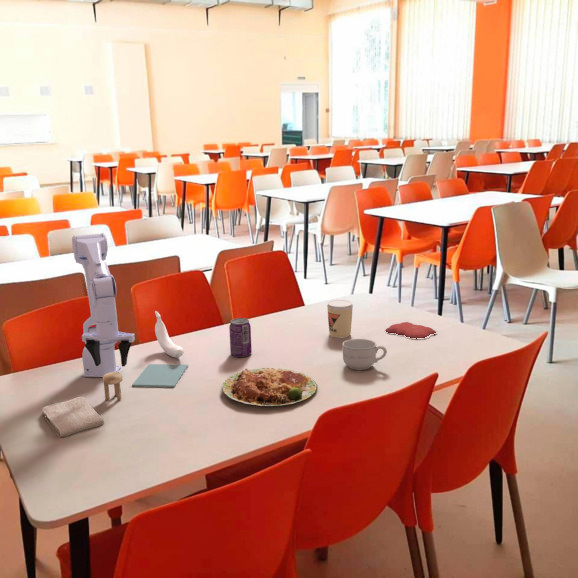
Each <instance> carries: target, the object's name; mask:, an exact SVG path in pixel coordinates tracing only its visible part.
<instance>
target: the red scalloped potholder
mask: <svg viewBox="0 0 578 578" xmlns="http://www.w3.org/2000/svg"><path fill="white" fill-rule="evenodd" d="M385 331H386V332H388V333H396V334H398V335H405V336H406V337H410V338H416V339H417V338H425V337H427V336H429V335H430V334H434V333H436V332H437V331H436V330H435V329H433V328H431V327H428V326H425V325H421V324H414V323H412V322H409V321H405V322H400V323H395V324H392V325H390V326H389V327H387V328H386V329H385V330H384V332H385ZM386 332H385V333H386ZM388 333H387V334H388ZM396 334H395V335H396ZM398 335H397V336H398ZM406 337H405V338H406Z"/></svg>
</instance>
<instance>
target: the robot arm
mask: <svg viewBox="0 0 578 578" xmlns="http://www.w3.org/2000/svg"><path fill="white" fill-rule="evenodd" d="M71 237H72V238H71V244H72V251H73V256H74V261H75V263H77V264H80V265H81V266H82V269H84V274H85V275H84V276H85V284H86V289H87V297H88V304H89V311H90V316H89V317H88V318H87V319H86V320H85V321H84V322H83V325H82V326H83V327H82V329H83V334H82V335H81V339H82V340H81V341H82V342H83V343H84V348H83V349H82V353H81V355H82V367H83V377H84V378H85V377H87V378H88V377H91V378H93V377H95V378H103V376H104V375H105V374H107V373H111V372H119V371H120V369H121V368H122V367H126V366H127V365H128V364H127V363H128V355H129V352H130V349H131V346H132V343H133V342H135V341H136V339H135V333H129V332H122V331H119V325H118V324H119V323H118V314H117V304H116V297H117V283H116V280H115V277H114V275H113V274H111V272H110V268H109V266H108V264H107V262H105V260H106V258H107V255H108V239H107V236H106V234H105V233H104V232H102V233H95V234H93V233H92V234H83V235H73V236H71ZM118 342H120V343H119V344H118V345H117V347H118V350H119V354H120V362H121V365H117V363H116V361H117V360H116V354H115V353H116V352H115V347H116V344H117V343H118Z"/></svg>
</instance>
